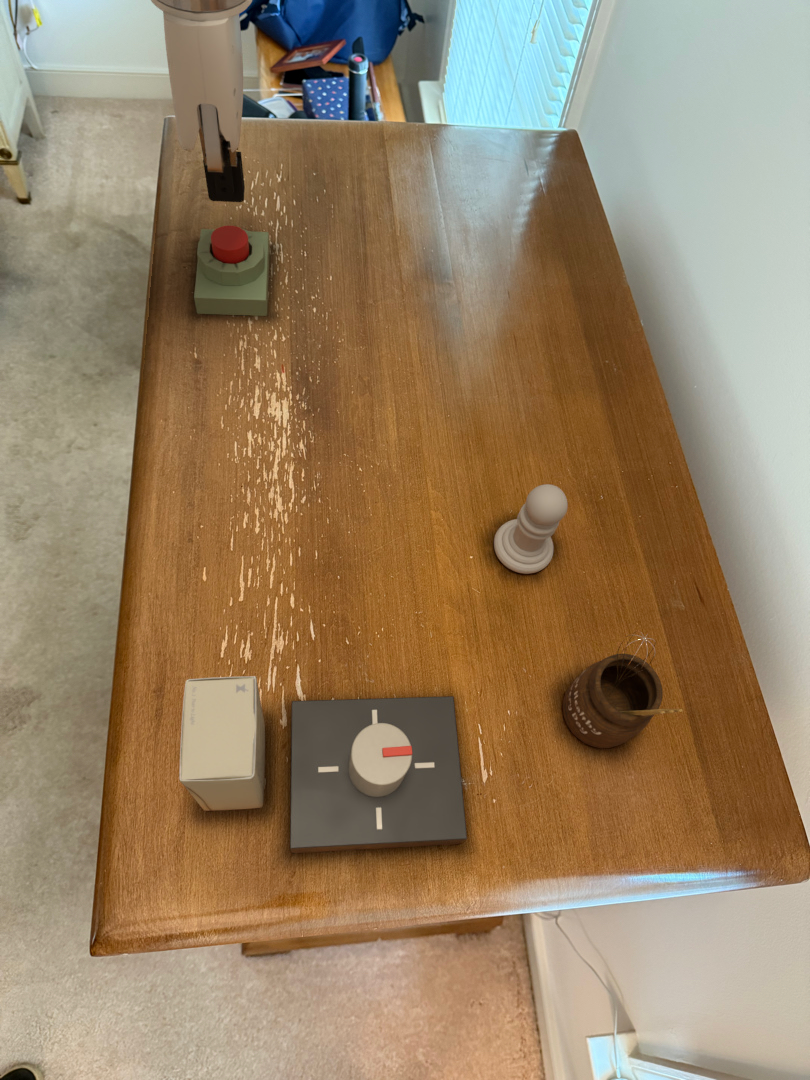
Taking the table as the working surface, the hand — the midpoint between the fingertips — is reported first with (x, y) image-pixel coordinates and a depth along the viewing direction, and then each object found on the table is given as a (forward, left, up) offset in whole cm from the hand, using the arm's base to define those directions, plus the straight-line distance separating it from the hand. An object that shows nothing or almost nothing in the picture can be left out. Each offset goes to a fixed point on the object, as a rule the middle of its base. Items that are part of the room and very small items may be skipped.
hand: (227, 195), depth 69 cm
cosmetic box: (+2, -50, -10) cm, 51 cm away
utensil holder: (+30, -47, -10) cm, 57 cm away
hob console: (+12, -51, -10) cm, 54 cm away
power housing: (0, 0, -10) cm, 10 cm away
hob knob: (+12, -51, -7) cm, 53 cm away
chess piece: (+26, -32, -10) cm, 43 cm away
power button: (0, 0, -6) cm, 6 cm away
